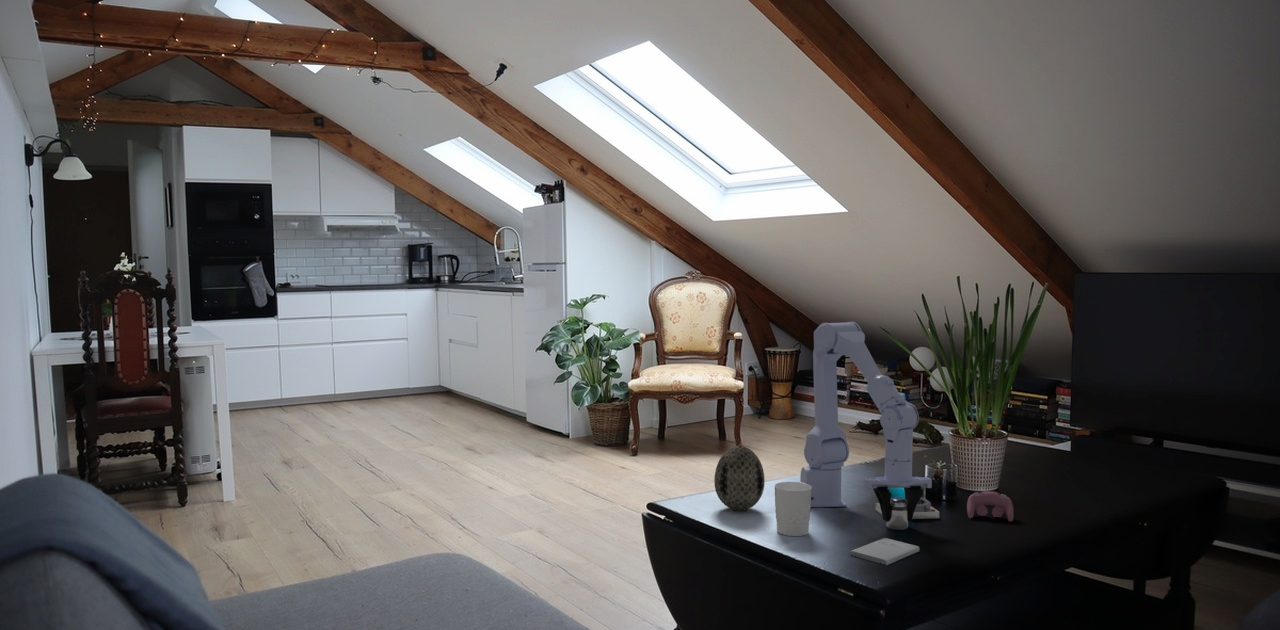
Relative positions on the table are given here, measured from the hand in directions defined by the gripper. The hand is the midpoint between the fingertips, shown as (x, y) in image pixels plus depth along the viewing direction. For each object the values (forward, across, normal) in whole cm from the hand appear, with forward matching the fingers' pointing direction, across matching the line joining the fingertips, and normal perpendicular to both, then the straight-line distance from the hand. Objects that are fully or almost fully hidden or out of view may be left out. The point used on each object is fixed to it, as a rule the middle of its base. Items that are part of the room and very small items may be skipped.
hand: (897, 520), depth 196 cm
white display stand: (+1, +6, +10) cm, 11 cm away
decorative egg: (+2, -32, +16) cm, 36 cm away
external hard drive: (+2, -9, -17) cm, 20 cm away
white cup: (+2, -24, -2) cm, 24 cm away
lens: (+1, 0, 0) cm, 1 cm away
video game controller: (+2, +24, +5) cm, 24 cm away
